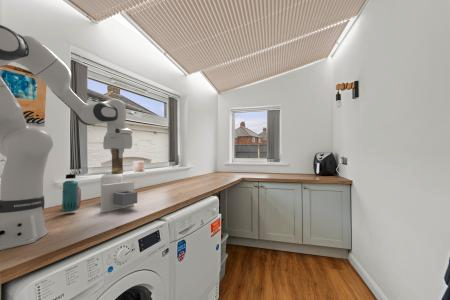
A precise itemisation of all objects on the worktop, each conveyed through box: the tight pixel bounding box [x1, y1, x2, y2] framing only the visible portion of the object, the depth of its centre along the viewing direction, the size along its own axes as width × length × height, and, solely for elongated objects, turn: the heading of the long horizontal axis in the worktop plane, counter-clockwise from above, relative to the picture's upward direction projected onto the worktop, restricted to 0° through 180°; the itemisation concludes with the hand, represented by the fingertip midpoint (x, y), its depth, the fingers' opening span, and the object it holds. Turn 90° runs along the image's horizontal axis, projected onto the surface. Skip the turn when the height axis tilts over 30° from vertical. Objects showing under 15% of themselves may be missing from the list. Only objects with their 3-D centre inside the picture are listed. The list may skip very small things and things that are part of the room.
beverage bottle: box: [61, 173, 79, 213], centre depth 108 cm, size 6×7×20 cm
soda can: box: [77, 185, 82, 209], centre depth 119 cm, size 7×7×12 cm
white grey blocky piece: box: [100, 181, 138, 213], centre depth 116 cm, size 18×12×14 cm, turn 148°
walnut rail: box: [111, 148, 124, 175], centre depth 110 cm, size 4×4×16 cm
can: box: [100, 169, 124, 186], centre depth 136 cm, size 12×12×20 cm
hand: (117, 158), depth 110 cm, fingers closed on walnut rail, 4 cm apart
